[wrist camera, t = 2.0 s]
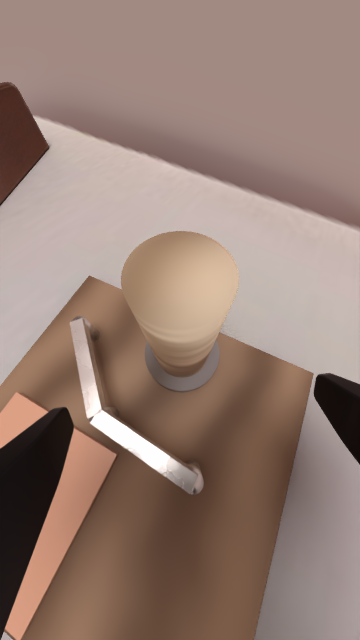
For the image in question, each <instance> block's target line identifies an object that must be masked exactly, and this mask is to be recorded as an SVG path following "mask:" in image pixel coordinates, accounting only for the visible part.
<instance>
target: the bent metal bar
mask: <svg viewBox="0 0 360 640" xmlns="http://www.w3.org/2000/svg"><path fill="white" fill-rule="evenodd" d="M70 327H71V333H72V338H73V344H74V349H75V355H76V360H77V366H78V371H79V377H80V382H81V388H82V393H83V399H84V404H85V410H86V415H87V419H88V418H89V421H90V424H92V425H93V426H95V427H96V428H97V429H99V430H100V431H102V432H103V433H104V434H106V435H107V436H109V437H110V438H112V439H113V440H114V441H116V442H117V443H119V444H120V445H121V446H123V447H124V448H126V449H127V450H128V451H130V452H131V453H133V454H134V455H136V456H137V457H138V458H140V459H141V460H143V461H144V462H145V463H147V464H148V465H150V466H151V467H152V468H154V469H155V470H157V471H158V472H159V473H161V474H162V475H164V476H165V477H167V478H168V479H169V480H171V481H172V482H174V483H175V484H176V485H178V486H179V487H181V488H182V489H183V490H185V491H186V492H188V493H189V494H192V495H195V494H198V493H200V492H201V490H202V488H203V484H204V481H203V477H202V473H201V470H200V466H199V464H198V463H197V462H196V461H195V460H188V461H187V462H186V463H184V462H183V461H181V460H180V459H178V458H177V457H175V456H174V455H172V454H171V453H169V452H168V451H167V450H165V449H164V448H162V447H161V446H159V445H158V444H156V443H155V442H153V441H152V440H150V439H149V438H147V437H146V436H144V435H143V434H141V433H140V432H138V431H137V430H135V429H134V428H133V427H131V426H130V425H128V424H127V423H125V422H124V421H122V420H121V419H119V418H118V417H119V411H118V409H117V408H115V407H107V406H106V405H105V400H104V396H103V391H102V387H101V382H100V378H99V373H98V369H97V364H96V359H95V355H94V350H93V346H92V341H95V340H97V339H98V338H99V336H100V333H99V331H98V330H97V329H96V328H95V327H94V326H93V325H92V324H91V323H90V322H89V321H88V320H87V319H86V318H84V317H83V316H77V317H75V318H74V319H73V320H72V322H70Z"/></svg>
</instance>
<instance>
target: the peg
mask: <svg viewBox="0 0 360 640" xmlns="http://www.w3.org/2000/svg"><path fill="white" fill-rule="evenodd" d="M121 286H122V291H123V294H124V297H125V299H126V301H127V303H128V305H129V307H130V309H131V311H132V313H133V315H134V316H135V318H136V320H137V322H138V324H139V326H140V328H141V330H142V332H143V334H144V336H145V338H146V340H147V343H146V347H145V361H146V365H147V368H148V370H149V372H150V374H151V375H152V376H153V378H154V379H155V380H156V381H157V382H158V383H159V384H161V385H162V386H163V387H165V388H167V389H169V390H172V391H177V392H187V391H192V390H195V389H197V388H199V387H201V386H203V385H204V384H205V383H206V382H207V381H208V380H209V379H210V378H211V377H212V375H213V374H214V372H215V370H216V368H217V366H218V362H219V354H220V353H219V346H218V342H217V340H216V338H217V336H218V334H219V332H220V330H221V327H222V325H223V323H224V321H225V318H226V316H227V314H228V312H229V310H230V307H231V305H232V303H233V301H234V299H235V296H236V293H237V291H238V286H239V274H238V269H237V265H236V263H235V261H234V259H233V257H232V256H231V254H230V253H229V252H228V251H227V250H226V249H225V248H224V247H223V246H222V245H221V244H220V243H218V242H217V241H215V240H213V239H211V238H210V237H207V236H205V235H202V234H198V233H194V232H186V231H175V232H168V233H163V234H160V235H157V236H154V237H152V238H150V239H148V240H146V241H144V242H143V243H142V244H140V245H139V246H138V247H137V248H136V249H135V250H134V251H133V252H132V253H131V254H130V256H129V257H128V259H127V260H126V262H125V264H124V267H123V270H122V276H121Z"/></svg>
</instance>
